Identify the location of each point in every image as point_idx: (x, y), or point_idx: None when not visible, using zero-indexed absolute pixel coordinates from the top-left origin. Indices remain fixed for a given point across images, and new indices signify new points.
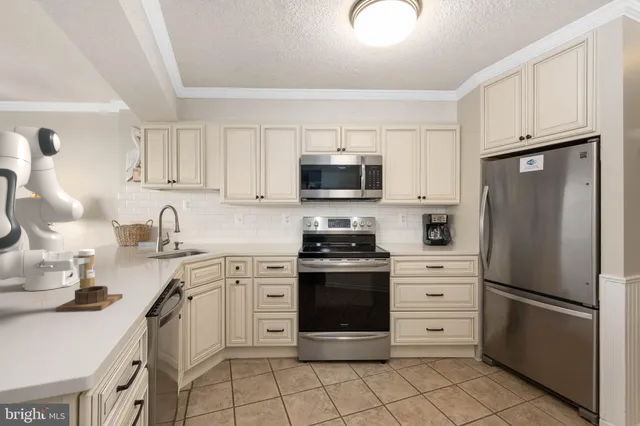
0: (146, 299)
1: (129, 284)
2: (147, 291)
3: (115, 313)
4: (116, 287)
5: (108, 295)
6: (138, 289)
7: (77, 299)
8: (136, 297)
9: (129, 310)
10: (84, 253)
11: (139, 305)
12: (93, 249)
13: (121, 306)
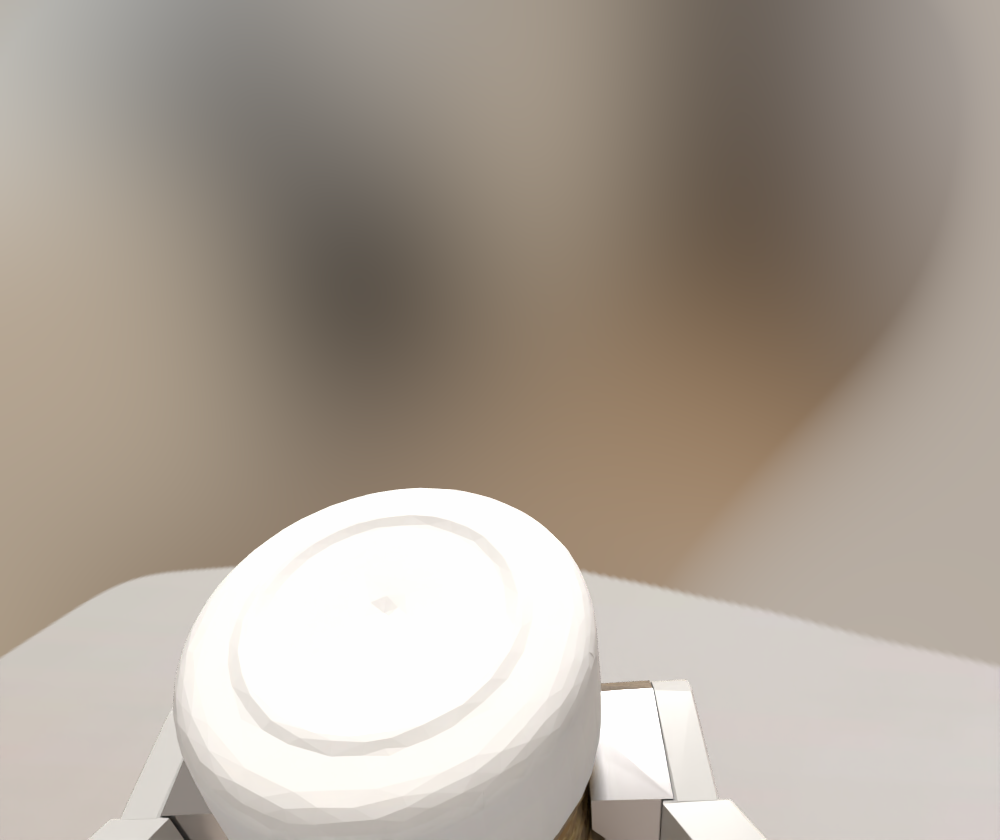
0: (630, 594)
1: (25, 659)
2: None
3: (997, 825)
4: (8, 759)
5: None
6: None
7: None
8: None
9: (922, 716)
10: (595, 712)
11: (789, 644)
12: (437, 491)
13: (761, 763)
